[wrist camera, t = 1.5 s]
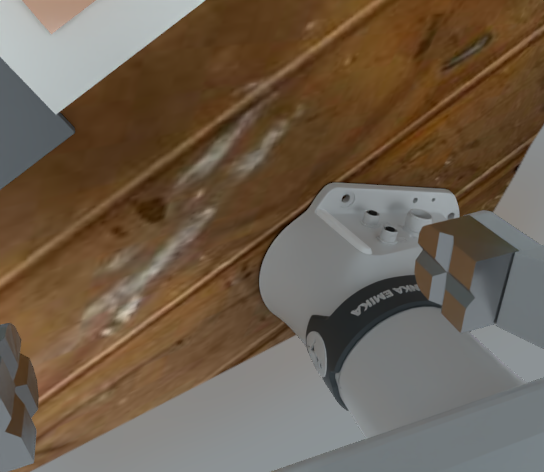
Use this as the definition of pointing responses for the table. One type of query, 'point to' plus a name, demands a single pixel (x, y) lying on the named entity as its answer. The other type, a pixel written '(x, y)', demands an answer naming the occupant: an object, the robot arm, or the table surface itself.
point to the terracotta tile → (56, 11)
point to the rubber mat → (25, 126)
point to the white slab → (81, 43)
